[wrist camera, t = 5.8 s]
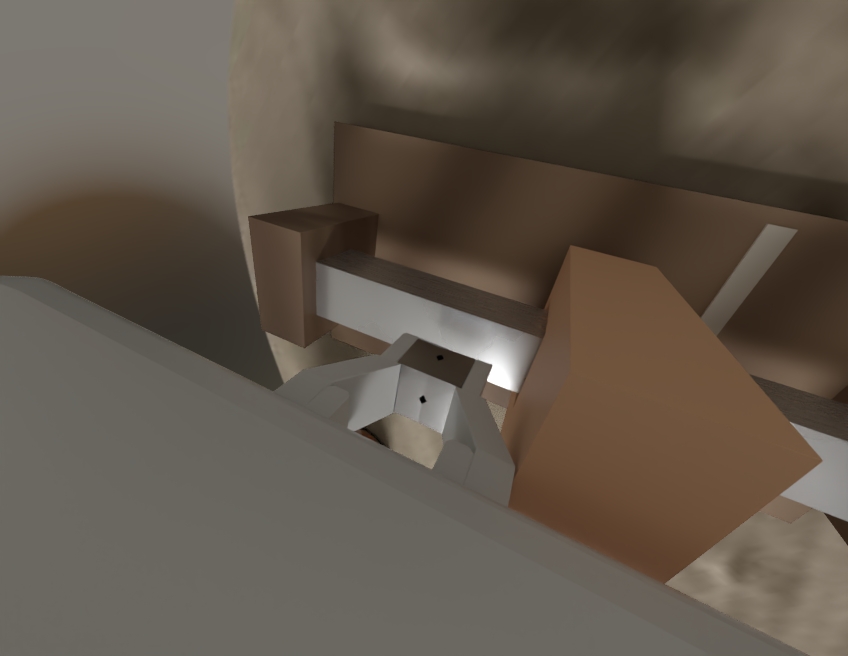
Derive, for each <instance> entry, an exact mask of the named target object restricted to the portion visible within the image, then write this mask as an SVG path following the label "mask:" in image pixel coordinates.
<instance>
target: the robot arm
mask: <svg viewBox="0 0 848 656" xmlns="http://www.w3.org/2000/svg"><path fill="white" fill-rule="evenodd" d="M491 369H492V364H489V363H486V362H483V361H480V360H476V359H474V358H471V357H468V356H465V355H462V354H459V353H457V352H454V351H451V350H449V349H447V348H444V347H442V346H439V345H437V344H434V343H432V342H429V341H427V340H424V339H422V338H419V337H417V336H414V335H412V334H409V333H403V334H402V335H401V336H400V337H399V338H398V339H397V340H396V341H395V342H394V343H393V344H392V345H391V346H390V347H389V348H388V349H387V350H386V351H385V352H384V353H383V354H382V355H381V356H380V355H377V354H374V355H370V356H365V357H360V358H356V359H351V360H346V361H341V362H337V363H332V364H327V365H322V366H318V367H313V368H308V369H304V370H302V371H301V372H299V373H298V374H297V375H295V376H294V377H293V378H291V379H290V380H288V381H287V382H286V383H284V384H283V385H282V386H280V387H279V388H278V389H277V390H275V391H274V392H273V391H271V390H269V389H267V388H265V387H263V386H260V385H259V384H257V383H254V382H253V381H251V380H249V379H246V378H244V377H242V376H240V375H238V374H236V373H234V372H232V371H230V370H228V369H226V368H224V367H222V366H220V365H218V364H216V363H214V362H212V361H210V360H208V359H206V358H203V357H202V356H199V355H198V354H196V353H194V352H192V351H190V350H188V349H185V348H183V347H181V346H179V345H177V344H175V343H173V342H171V341H169V340H167V339H165V338H163V337H161V336H159V335H157V334H155V333H153V332H151V331H149V330H147V329H145V328H143V327H141V326H139V325H137V324H135V323H132V322H131V321H129V320H127V319H124V318H123V317H121V316H119V315H117V314H115V313H113V312H110V311H108V310H106V309H104V308H102V307H100V306H98V305H96V304H94V303H92V302H90V301H88V300H86V299H84V298H82V297H80V296H78V295H76V294H74V293H72V292H70V291H68V290H66V289H64V288H62V287H60V286H58V285H56V284H55V283H52V282H50V281H47V280H44V279H41V278H35V277H19V276H0V656H810V655H808V654H805V653H803V652H801V651H799V650H797V649H795V648H793V647H791V646H789V645H787V644H785V643H783V642H781V641H779V640H777V639H775V638H773V637H771V636H769V635H767V634H765V633H763V632H761V631H759V630H757V629H755V628H753V627H751V626H749V625H747V624H745V623H742V622H740V621H738V620H736V619H734V618H732V617H730V616H728V615H726V614H724V613H722V612H720V611H718V610H716V609H714V608H712V607H710V606H708V605H706V604H704V603H702V602H700V601H698V600H696V599H694V598H692V597H690V596H688V595H686V594H684V593H682V592H680V591H677V590H675V589H673V588H671V587H669V586H667V585H665V584H663V583H661V582H659V581H657V580H655V579H653V578H651V577H649V576H647V575H645V574H643V573H641V572H639V571H637V570H635V569H633V568H631V567H629V566H627V565H625V564H623V563H621V562H619V561H617V560H614V559H612V558H610V557H608V556H606V555H604V554H602V553H600V552H598V551H596V550H594V549H592V548H590V547H588V546H586V545H584V544H582V543H580V542H578V541H576V540H574V539H572V538H570V537H568V536H566V535H564V534H561V533H559V532H557V531H555V530H553V529H551V528H549V527H547V526H545V525H543V524H541V523H539V522H537V521H535V520H533V519H531V518H529V517H527V516H525V515H523V514H521V513H518V512H516V511H514V510H512V509H510V508H508V503H509V498H510V493H511V488H512V482H513V477H514V472H515V465H514V462H513V460H512V458H511V456H510V454H509V451H508V449H507V447H506V445H505V442H504V440H503V438H502V436H501V433H500V431H499V429H498V427H497V424H496V422H495V420H494V418H493V416H492V413H491V411H490V409H489V407H488V404H487V402H486V400H485V398H483V397H482V394H483V392H484V389H485V386H486V383H487V380H488V377H489V375H490V372H491ZM393 412H395V413H398V414H400V415H402V416H405V417H407V418H410V419H412V420H414V421H417V422H419V423H421V424H423V425H425V426H427V427H429V428H431V429H433V430H435V431H437V432H439V433H441V434H442V439H443V445H444V447H443V449H442V451H441V453H440V455H439V457H438V459H437V461H436V463H435V465H434V467H433V469H430V468H427V467H425V466H423V465H421V464H419V463H417V462H415V461H413V460H411V459H409V458H407V457H405V456H403V455H401V454H399V453H397V452H395V451H393V450H391V449H389V448H387V447H385V446H383V445H381V444H379V443H377V442H375V441H373V440H371V439H369V438H367V437H364V436H362V435H360V434H358V433H356V432H354V431H356V430H358V429H361V428H363V427H365V426H367V425H369V424H371V423H373V422H375V421H377V420H380V419H382V418H384V417H386V416H388V415H390V414H392V413H393Z"/></svg>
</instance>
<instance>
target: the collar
mask: <svg viewBox="0 0 848 656" xmlns="http://www.w3.org/2000/svg"><path fill="white" fill-rule="evenodd" d="M544 310H547V311H549V313H548V320H547V326H546V333H545V336H544V338H543V340H542V342H541V345H540V347H539V349H538V352H537V354H536V356H535V359H534V361H533V363H532V366H531V368H530V370H529V373H528V375H527V377H526V379H525V382H524V384H523V386H522V389H521V391H520V393H516V392H514V391H512V392H511V395H510V399H509V403H508V407H507V411H506V414H505V418H504V422H503V426H502V430H501V436H502V438H503V440H504V442H505V445H506V447H507V449H508V451H509V454H510V456H511V458H512V460H513V462H514V465H515V472H514V477H513V482H512V488H511V493H510V498H509V503H508V508H510V509H512V510H514V511H516V512H518V513H521V514H523V515H525V516H527V517H529V518H531V519H533V520H535V521H537V522H539V523H541V524H543V525H545V526H547V527H549V528H551V529H553V530H555V531H557V532H559V533H561V534H564V535H566V536H568V537H570V538H572V539H574V540H576V541H578V542H580V543H582V544H584V545H586V546H588V547H590V548H592V549H594V550H596V551H598V552H600V553H602V554H604V555H606V556H608V557H610V558H612V559H614V560H617V561H619V562H621V563H623V564H625V565H627V566H629V567H631V568H633V569H635V570H637V571H639V572H641V573H643V574H645V575H647V576H649V577H651V578H653V579H655V580H657V581H659V582H661V583H663V584H665V583H666V582H667V581H669V580H670V579H671V578H672V577H674V576H675V575H676V574H678V573H679V572H680V571H682V570H683V569H684V568H685V567H687V566H688V565H689V564H691V563H692V562H693V561H694V560H696V559H697V558H698V557H700V556H701V555H702V554H704V553H705V552H706V551H707V550H709V549H710V548H711V547H713V546H714V545H715V544H716V543H718V542H719V541H720V540H722V539H723V538H724V537H726V536H727V535H728V534H729V533H731V532H732V531H733V530H735V529H736V528H737V527H739V526H740V525H741V524H742V523H744V522H745V521H746V520H748V519H749V518H750V517H751V516H753V515H754V514H755V513H757V512H758V511H759V510H761V509H762V508H763V507H764V506H766V505H767V504H768V503H770V502H771V501H772V500H774V499H775V498H776V497H777V496H779V495H780V494H781V493H783V492H784V491H785V490H786V489H788V488H789V487H790V486H792V485H793V484H794V483H796V482H797V481H798V480H799V479H801V478H802V477H803V476H805V475H806V474H807V473H809V472H810V471H811V470H812V469H814V468H815V467H816V466H818V465H819V464H820V463H821V462H823V460H822V459H821V458H820V456H819V455H818V454H817V453H816V452H815V451H814V449H813V448H812V447H811V446H810V445H809V444H808V443H807V441H806V440H805V439H804V438H803V437H802V436H801V434H800V433H799V432H798V431H797V430H796V429H795V427H794V426H793V425H792V424H791V423H790V422H789V420H788V419H787V418H786V417H785V416H784V415H783V413H782V412H781V411H780V410H779V409H778V408H777V406H776V405H775V404H774V403H773V402H772V401H771V399H770V398H769V397H768V396H767V395H766V394H765V392H764V391H763V390H762V389H761V388H760V387H759V386H758V384H757V383H756V382H755V381H754V380H753V379H752V377H751V376H750V375H749V374H748V373H747V372H746V370H745V369H744V368H743V367H742V366H741V365H740V363H739V362H738V361H737V360H736V359H735V358H734V356H733V355H732V354H731V353H730V352H729V351H728V349H727V348H726V347H725V346H724V345H723V344H722V342H721V341H720V340H719V339H718V338H717V337H716V335H715V334H714V333H713V332H712V331H711V330H710V329H709V327H708V326H707V325H706V324H705V323H704V322H703V320H702V319H701V318H700V317H699V316H698V315H697V313H696V312H695V311H694V310H693V309H692V308H691V306H690V305H689V304H688V303H687V302H686V301H685V299H684V298H683V297H682V296H681V295H680V294H679V292H678V291H677V290H676V289H675V288H674V287H673V285H672V284H671V283H670V282H669V281H668V280H667V278H666V277H665V276H664V275H663V274H662V273H661V272H660V270H659V269H658V268H657V267H654V266H651V265H647V264H643V263H639V262H635V261H631V260H627V259H623V258H619V257H615V256H611V255H608V254H604V253H600V252H596V251H592V250H588V249H584V248H580V247H576V246H572V245H570V247H569V250H568V252H567V255H566V257H565V259H564V262H563V264H562V267H561V269H560V272H559V274H558V277H557V279H556V281H555V284H554V286H553V289H552V291H551V294H550V296H549V298H548V301H547V303H546V306H545V308H544Z"/></svg>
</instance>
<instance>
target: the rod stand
mask: <svg viewBox="0 0 848 656" xmlns="http://www.w3.org/2000/svg"><path fill="white" fill-rule="evenodd" d="M248 219H249V227H250V236H251V244H252V253H253V261H254V269H255V278H256V286H257V295H258V303H259V311H260V320H261V328H262V330H264V331H266V332H268V333H271V334H273V335H275V336H278V337H280V338H282V339H285V340H287V341H289V342H292V343H294V344H297V345H299V346H301V347H304V348H305V347H307V346H308V345H310V344H311V343H313V342H314V341H316V340H317V339H319V338H320V337H322V336H323V335H324V334H326V333H327V332H329V331H330V330H331V337H332V338H334V339H337V340H339V341H342V342H344V343H347V344H349V345H352V346H354V347H356V348H359V349H361V350H364V351H366V352H369V353H371V354H377V355H380V356H381V355H382V354H383V353H384V352H385V351H386V350H387V349H388V348H389V347H390V346H391V345H392V344H393V343H394V342H395V341H396V340H397V339H398V338H399V337H400V336H401V335H402V334H403V333H409V334H412V335H414V336H417V337H419V338H422V339H424V340H427V341H429V342H432V343H434V344H437V345H439V346H442V347H444V348H447V349H449V350H451V351H454V352H457V353H459V354H462V355H465V356H468V357H471V358H474V359H476V360H480V361H483V362H486V363H489V364H492V369H491V372H490V375H489V377H488V380H487V383H486V386H485V389H484V392H483V394H482V397H483V398H485V400H487V401H490V402H492V403H495V404H497V405H500V406H502V407H504V408H507V407H508V403H509V399H510V395H511V392H512V391H514V392H516V393H520V391H521V389H522V386H523V384H524V382H525V379H526V377H527V375H528V373H529V370H530V368H531V366H532V363H533V361H534V359H535V356H536V354H537V352H538V349H539V347H540V345H541V342H542V340H543V338H544V336H545V333H546V326H547V320H548V313H549V311H547V310H544V308H545V306H546V303H547V301H548V298H549V296H550V294H551V291H552V289H553V286H554V284H555V281H556V279H557V277H558V274H559V272H560V269H561V267H562V264H563V262H564V259H565V257H566V255H567V252H568V250H569V247H570V245H572V246H576V247H580V248H584V249H588V250H592V251H596V252H600V253H604V254H608V255H611V256H615V257H619V258H623V259H627V260H631V261H635V262H639V263H643V264H647V265H651V266H654V267H657V268H658V269H659V270H660V272H661V273H662V274H663V275H664V276H665V277H666V278H667V280H668V281H669V282H670V283H671V284H672V285H673V287H674V288H675V289H676V290H677V291H678V292H679V294H680V295H681V296H682V297H683V298H684V299H685V301H686V302H687V303H688V304H689V305H690V306H691V308H692V309H693V310H694V311H695V312H696V313H697V315H698V316H699V317H700V318H701V319H702V320H703V322H704V323H705V324H706V325H707V326H708V327H709V329H710V330H711V331H712V332H713V333H714V334H715V335H716V337H717V338H718V339H719V340H720V341H721V342H722V344H723V345H724V346H725V347H726V348H727V349H728V351H729V352H730V353H731V354H732V355H733V356H734V358H735V359H736V360H737V361H738V362H739V363H740V365H741V366H742V367H743V368H744V369H745V370H746V372H747V373H748V374H749V375H750V376H751V377H752V379H753V380H754V381H755V382H756V383H757V384H758V386H759V387H760V388H761V389H762V390H763V391H764V392H765V394H766V395H767V396H768V397H769V398H770V399H771V401H772V402H773V403H774V404H775V405H776V406H777V408H778V409H779V410H780V411H781V412H782V413H783V415H784V416H785V417H786V418H787V419H788V420H789V422H790V423H791V424H792V425H793V426H794V427H795V429H796V430H797V431H798V432H799V433H800V434H801V436H802V437H803V438H804V439H805V440H806V441H807V443H808V444H809V445H810V446H811V447H812V448H813V449H814V451H815V452H816V453H817V454H818V455H819V456H820V458H821V459H822V460H823V462H821V463H820V464H819V465H818V466H816V467H815V468H814V469H812V470H811V471H810V472H809V473H807V474H806V475H805V476H803V477H802V478H801V479H799V480H798V481H797V482H796V483H794V484H793V485H792V486H790V487H789V488H788V489H786V490H785V491H784V492H783V493H781V494H780V495H779V496H777V497H776V498H775V499H774V500H772V501H771V502H770V503H768V504H767V505H766V506H764V507H763V508H762V509H761V510H759V511H761V512H763V513H766V514H768V515H771V516H773V517H776V518H778V519H781V520H783V521H786V522H788V523H792V522H794V521H795V520H796V519H798V518H799V517H801V516H802V515H804V514H805V513H807V512H808V511H809V510H811V509H812V508H814V509H817V510H819V511H822V512H824V514H825V515H826V516H827V518H828V519H829V520H830V522H831V523H832V525H833V526H834V527H835V529H836V530H837V531H838V533H839V534H840V535H841V537H842V538H843V540H844V541H845V542H846V544H847V545H848V221H843V220H838V219H833V218H828V217H823V216H817V215H812V214H807V213H802V212H797V211H792V210H787V209H781V208H776V207H771V206H766V205H761V204H756V203H751V202H746V201H740V200H735V199H730V198H725V197H720V196H715V195H710V194H704V193H699V192H694V191H689V190H684V189H679V188H674V187H668V186H663V185H658V184H653V183H648V182H643V181H638V180H632V179H627V178H622V177H617V176H612V175H607V174H602V173H597V172H591V171H586V170H581V169H576V168H571V167H566V166H561V165H555V164H550V163H545V162H540V161H535V160H530V159H525V158H519V157H514V156H509V155H504V154H499V153H494V152H489V151H483V150H478V149H473V148H468V147H463V146H458V145H453V144H448V143H442V142H437V141H432V140H427V139H422V138H417V137H412V136H406V135H401V134H396V133H391V132H386V131H381V130H376V129H370V128H365V127H360V126H355V125H350V124H345V123H340V122H335V126H334V190H333V203H332V204H326V205H319V206H313V207H306V208H300V209H293V210H287V211H280V212H274V213H267V214H261V215H254V216H248Z"/></svg>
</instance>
